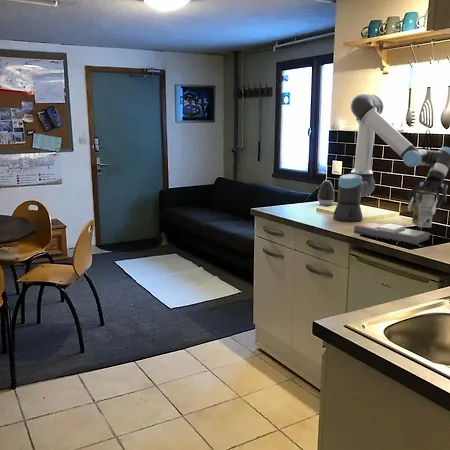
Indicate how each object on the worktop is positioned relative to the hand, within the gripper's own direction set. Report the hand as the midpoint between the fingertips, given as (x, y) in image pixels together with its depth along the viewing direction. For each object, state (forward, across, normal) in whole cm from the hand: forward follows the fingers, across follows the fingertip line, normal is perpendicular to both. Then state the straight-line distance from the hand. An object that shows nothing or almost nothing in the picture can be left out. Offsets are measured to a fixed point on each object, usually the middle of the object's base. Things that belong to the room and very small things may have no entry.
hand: (420, 211), depth 226 cm
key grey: (+15, +7, +3) cm, 17 cm away
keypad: (+17, +7, +2) cm, 19 cm away
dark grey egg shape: (-18, +73, -34) cm, 83 cm away
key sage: (+16, -2, +2) cm, 16 cm away
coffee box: (+3, 0, -7) cm, 8 cm away
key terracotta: (+16, +17, +2) cm, 23 cm away
